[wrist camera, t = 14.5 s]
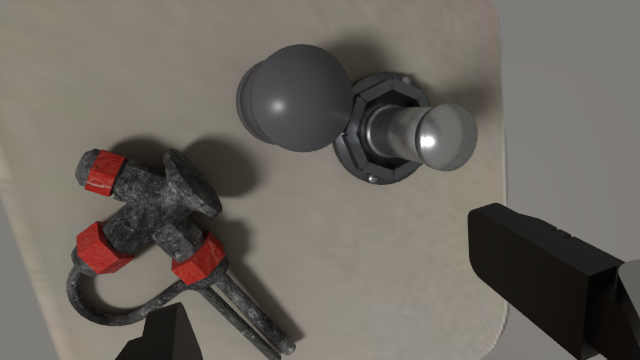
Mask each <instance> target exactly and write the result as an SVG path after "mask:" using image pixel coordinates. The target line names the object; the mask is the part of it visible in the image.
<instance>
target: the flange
mask: <svg viewBox="0 0 640 360" xmlns="http://www.w3.org/2000/svg"><path fill="white" fill-rule="evenodd" d="M351 87H352V94H353V105H352V112H351V115H350V118H349V121H348V123H347V125H346V127H345V129H344V130H343V132H342V133H341V134H340V136H339V137H338V138H337V139H336V140H334V141H333V147H334V150H335V153H336V155H337V157H338V159H339V161H340V162H341V164H342V165H343V166H344V168H345V169H346V170H347V171H348V172H349V173H351V174H352V175H353V176H355V177H357V178H358V179H361V180H363V181H366V182H368V183H372V184H378V185H387V184H392V183H396V182H399V181H401V180H403V179H405V178H407V177H408V176H410V175H411V174H412V173H413V172H415V171H416V170H417V169H418V167H419V166H421V165H422V164H423V163H420V162H415V161H411V160H406V159H402V158H397V157H393V158H386V157H382V156H378V155H376V154H374V153H373V152H372V151H371V150H370V149H369V148H368V146H367V144H366V142H365V139H364V125H365V122H366V119H367V118H368V116H369V115H370V113H371V112H372V111H373V110H374V109H376V108H377V107H380V106H382V105H398V106H401V107H431V105H430V103H429V100H428V98H427V97H426V94H425V93H424V92H423V91H422V89H421V88H420V87H419V86H418V85H417V84H416V83H415V82H413V81H412V80H410V78H409V77H405V76H402V75H400V74H395V73H379V74H374V75H370V76H367V77H364V78H362V79H360V80H359V81H357V82H355V83H354V84H353V85H352V86H351Z"/></svg>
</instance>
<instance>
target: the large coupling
mask: <svg viewBox="0 0 640 360" xmlns="http://www.w3.org/2000/svg"><path fill="white" fill-rule="evenodd" d="M352 105H353V94H352V87H351V83H350V80H349V77H348V75H347V73H346V71H345V70H344V68H343V66H342V65H341V64H340V63H339V61H338V60H337V59H336V58H335V57H333V56H332V55H331V54H330V53H328V52H327V51H325V50H323V49H321V48H318V47H316V46H312V45H304V44H299V45H291V46H287V47H285V48H282V49H280V50H278V51H277V52H275V53H273V54H272V55H271V56H269V57H268V58H267V59H266V60H264V61H261V62H259V63H258V64H256V65H254V66H253V67H252V68H250V69H249V70H248V71H247V72H246V74H245V75H244V76H243V78H242V80H241V81H240V84H239V86H238V90H237V95H236V106H237V111H238V115H239V117H240V120H241V122H242V123H243V125H244V127H245V128H246V129H247V130H248V131H249V132H250V133H251V134H252V135H253V136H254V137H256V138H257V139H259V140H261V141H263V142H266V143H269V144H274V145H278V146H280V147H282V148H285V149H288V150H291V151H295V152H311V151H316V150H319V149H322V148H324V147H326V146H328V145H329V144H331V143H332V142H333V141H334V140H336V139H337V138H338V137H339V136H340V134H341V133H342V132H343V130H344V129H345V127H346V125H347V123H348V121H349V118H350V115H351V112H352Z"/></svg>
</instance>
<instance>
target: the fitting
mask: <svg viewBox="0 0 640 360" xmlns="http://www.w3.org/2000/svg"><path fill="white" fill-rule="evenodd" d="M477 136H478V134H477V125H476V122H475V119H474V117H473V115H472V114H471V113H470V111H469V110H468V109H466V108H465V107H463V106H462V105H459V104H455V103H444V104H438V105H435V106H433V107H401V106H398V105H382V106H380V107H377V108H376V109H374V110H373V111H372V112H371V113H370V115H369V116H368V118H367V119H366V122H365V125H364V139H365V142H366V144H367V146H368V148H369V149H370V150H371V151H372V152H373V153H374V154H376V155H378V156H382V157H386V158H393V157H397V158H402V159H406V160H411V161H415V162H420V163H424V164H425V165H427V166H428V167H430V168H432V169H436V170H440V171H453V170H456V169H458V168H460V167H461V166H463V165H464V164H465V163H466V162H467V161H468V160H469V159H470V157H471V156H472V154H473V152H474V150H475V147H476V143H477Z"/></svg>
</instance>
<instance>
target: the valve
mask: <svg viewBox="0 0 640 360" xmlns="http://www.w3.org/2000/svg"><path fill="white" fill-rule="evenodd" d="M126 161H127V158H125V157H123V156H120V155H117V154H114V153H111V152H108V151H106V150H98V149H93V150H91V151H88V152H86V153H85V154H84V155H83V156H82V158H81V160H80V161H79V164H78V166H77V169H76V172H75V176H76V178H77V180H78V182H79V185H81V186H85V190H89V191H92V192H95V193H98V194H101V195H104V196H107V197H109V196H111V195H112V194H113V193H114V194H115V195H114V199H115V200H119V201H122V202H126V203H127V204H126V205H125V206H123V207H122V208H121V209H120V210H119V213H118V214H117V215H115V216H114V217H113V218H111V219H110V220H108V222H100V221H96V222H95V223H94V224H92V225H91V226H90V227H88V228H87V229H85V230H84V231H83V232H81V233H80V234H79V235H77V246H76V247H75V248H74V250H73V251H72V254H71V257H72V261H73V263H74V265H75V266H74V267H73V269H72V270H71V272H70V273H69V276H68V280H67V295H68V299H69V301H70V303H71V304H72V306H73V308H74V309H75V310H76V311H77V312H78V313H79V314H80V315H81V316H83V317H85V318H86V319H88V320H89V321H92V322H95V323H97V324H100V325H106V326H123V325H129V324H133V323H136V322H138V321H141V320H143V319H144V318H146V316H147V313H148V312H150V311H153V310H156V309H159V308H160V307H162V306H163V305H164V304H166V303H167V302H168V301H170V300H171V299H172V298H174V297H175V296H176V295H178V294H179V293H181V292H183V291H185V290H195V291H197V292H199V293H200V294H201V295H202V296H203V297H204V298H205V299H206V300H207V301H208V302H210V303H211V304H212V305H213V306H214V307H215V308H216V309H217V310H218V311H219V312H220V313H221V314H222V315H223V316H224V317H225V318H226V319H227V320H228V321H229V322H230V323H231V324H232V325H233V326H235V327H236V328H237V329H238V330H239V331H240V332H241V333H242V334H243V335H244V336H245V337H246V338H247V339H248V340H249V341H250V342H251V343H252V344H253V345H254V346H255V347H256V348H257V349H259V350H260V351H261V352H262V353H263V354H264V355H265V356H266V357H267V358H268V359H269V360H281V356H280V355H279V354H278V353H277V352H276V351H275V350H274V349H273V348H272V347H271V346H270V345H269V344H268V343H267V342H266V341H265V340H264V339H263V338H262V337H261V336H260V335H259V334H258V333H257V332H256V331H255V330H254V329H253V328H252V327H251V326H250V325H249V324H248V323H247V322H246V321H245V320H244V319H243V318H241V317H240V316H239V315H238V314H237V313H236V312H235V311H234V310H233V309H232V308H231V307H230V306H229V305H228V304H227V303H226V302H225V301H224V300H223V299H222V298H221V297H220V296H219V295H218V294H217V293H216V292H215V291H214V290H213V289H212V288H211V287H210V286H211V285H213V284H214V283H215V284H216V285H217V286H218V287H219V288H220V289H221V290H222V291H223V292H224V293H225V294H226V295H227V296H228V297H229V298H230V299H231V300H232V301H233V302H234V303H235V304H236V305H237V306H238V307H239V308H240V309H241V310H242V311H243V312H244V313H245V314H246V315H247V316H248V317H249V318H250V319H251V320H252V321H253V322H254V323H255V324H256V325H257V326H258V327H259V328H260V329H261V330H262V331H263V332H264V333H265V334H266V335H267V336H268V337H269V338H270V339H271V340H272V341H273V342H274V343H275V344H276V345H277V346H278V347H279V348H280V349H281V350H282V351H283V352H284V353H285V354H286V355H290V354H292V353H293V352H294V350H295V348H296V345H295V344H294V343H293V342H292V341H291V340H290V339H289V338H288V337H287V336H286V335H285V334H284V333H283V332H282V331H281V329H280V328H279V327H278V326H277V325H276V324H275V323H274V322H273V321H272V320H271V319H270V318H269V317H268V316H267V315H266V314H265V313H264V312H263V311H262V310H261V309H260V308H259V307H258V306H257V305H256V304H255V303H254V302H253V301H252V300H251V299H250V297H249V296H248V295H247V294H246V293H245V292H244V291H243V290H242V289H241V288H240V287H239V286H238V285H237V284H236V283H235V282H234V281H233V280H232V279H231V278H230V277H229V276H228V275H227V274H226V273H225V272H226V271H227V269H228V265H229V261H228V259H227V257H226V255H225V252H224V248H223V244H222V243H221V242H220V241H219V240H218V239H217V238H216V237H215V236H214V235H213V234H212V233H211V232H210V231H209V230H207V231H205V232H203V233H202V232H201V231H200V230H199V228H198V227H197V226H196V225H195V224H194V223H193V222H192V221H191V220H190V219H189V218H188V217H187V215H189V214H190V213H192V212H193V211H199V212H202V213H204V214H206V215H208V216H209V217H215V216H216V215H218V214H219V213H220V212H222V205H221V202H220V200H219V198H218V196H217V194H216V193H215V191H214V189H213V188H212V186H211V185H210V183H209V182H208V181H207V180H206V179H205V178H204V176H203V175H202V174H201V173H200V172H199V171H198V169H197V168H196V167H195V166H194V165H193V164H192V162H191V161H190V160H189V159H188V158H187V157H185V156H184V155H183V154H182V153H180V152H179V151H177V150H175V149H170V150H169V151H168V152H166V153H165V154H164V155H163V162H164V165H165V170H166V171H164V170H162V169H159V168H156V167H153V166H151V165H148V164H145V163H142V162H140V161H137V160H134V159H132V158H131V160H130V161H129V162H126ZM152 241H154V242H155V243H156V244H157V245H158V246H159V247H161V248H162V249H163V250H164V251H165V252H166V253H167V254H168V255H169V256H170V257H171V258H172V269H171V270H172V271H173V272H174V273H175V274H176V275H177V276H178V277H179V278H180V279H181V280H180V281H178V282H176V283H174V284H172V285H171V286H170V287H168V288H167V289H166V290H164V291H163V292H162V293H160V294H159V295H158V296H156V297H155V298H154V299H152V300H151V301H149V302H148V303H147V304H145V305H144V306H143V307H141V308H139V309H138V310H136V311H133V312H131V313H127V314H121V315H119V314H108V313H104V312H101V311H98V310H96V309H95V308H93V307H92V306H91V305H90V304H89V303H88V302H87V301H86V300H85V298H84V297H83V295H82V291H81V280H82V277H83V275H84V274H86V275H88V276H96V275H99V274H106V273H115V272H116V271H118V270H119V269H120V268H122V267H123V266H125V265H126V264H127V263H129V262H130V261H131V260H133V259H134V254H133V253H134V252H135V251H137V250H138V249H139V248H141V247H142V246H144V245H145V244H148V243H151V242H152Z"/></svg>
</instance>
